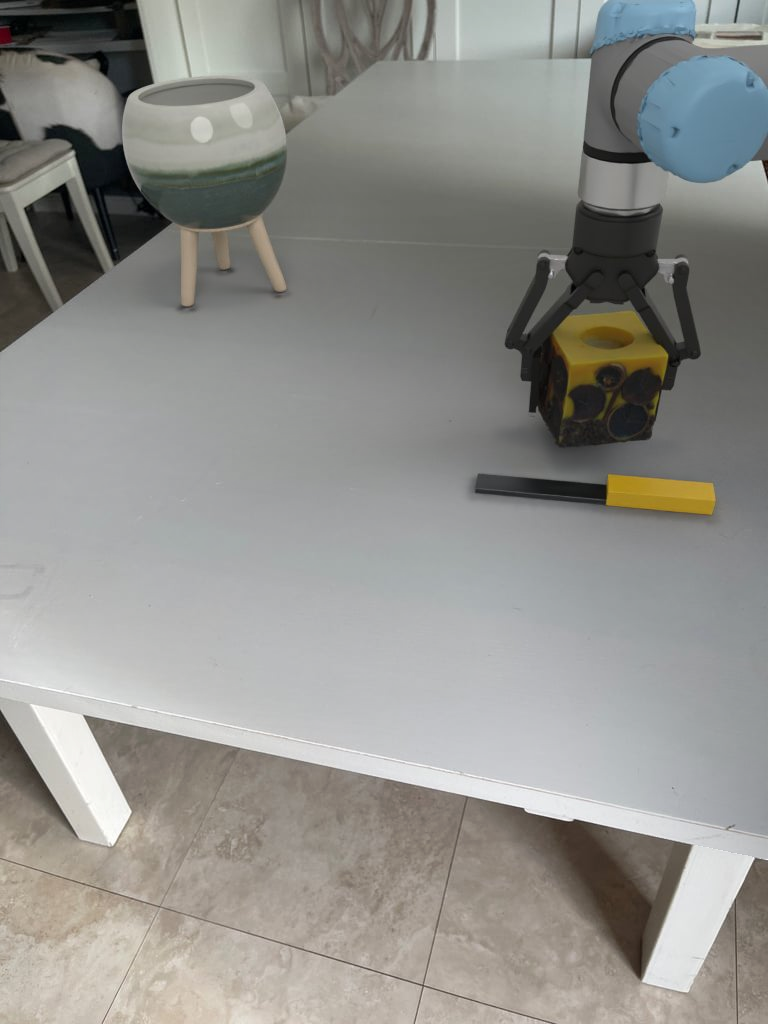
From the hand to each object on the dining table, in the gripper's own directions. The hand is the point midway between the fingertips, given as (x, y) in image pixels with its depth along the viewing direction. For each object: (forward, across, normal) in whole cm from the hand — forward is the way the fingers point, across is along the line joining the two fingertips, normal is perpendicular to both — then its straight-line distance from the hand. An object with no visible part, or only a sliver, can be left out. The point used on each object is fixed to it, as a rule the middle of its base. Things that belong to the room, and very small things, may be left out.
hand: (591, 410), depth 85 cm
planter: (+5, +54, -35) cm, 65 cm away
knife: (+4, 0, +9) cm, 10 cm away
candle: (+1, 0, 0) cm, 1 cm away
